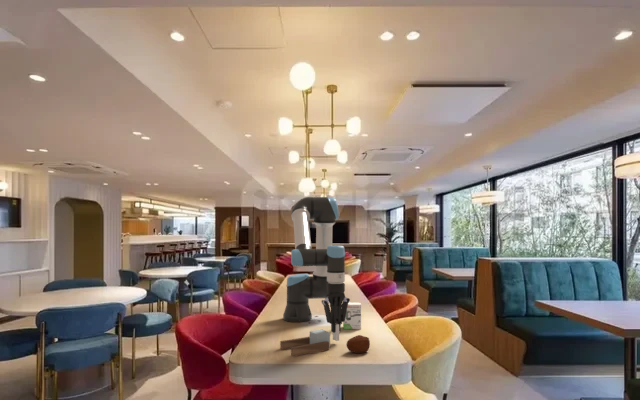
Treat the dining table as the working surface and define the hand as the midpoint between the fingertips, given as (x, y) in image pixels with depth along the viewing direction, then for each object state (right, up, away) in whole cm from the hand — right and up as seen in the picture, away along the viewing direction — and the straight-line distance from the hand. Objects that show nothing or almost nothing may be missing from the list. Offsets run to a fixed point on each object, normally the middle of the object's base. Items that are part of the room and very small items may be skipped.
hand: (335, 339), depth 164 cm
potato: (+8, -1, -11) cm, 14 cm away
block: (-7, -1, -4) cm, 8 cm away
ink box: (+9, -4, +26) cm, 28 cm away
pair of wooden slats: (-13, -1, -8) cm, 15 cm away
